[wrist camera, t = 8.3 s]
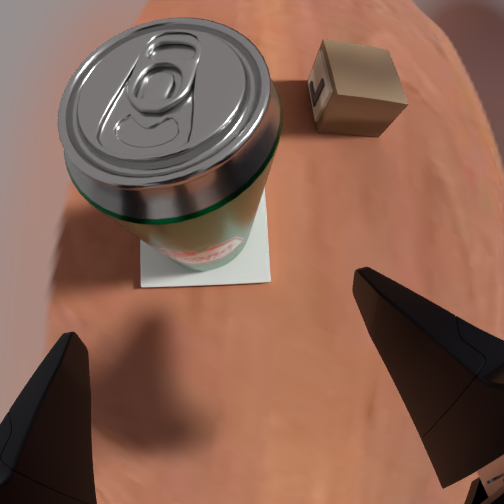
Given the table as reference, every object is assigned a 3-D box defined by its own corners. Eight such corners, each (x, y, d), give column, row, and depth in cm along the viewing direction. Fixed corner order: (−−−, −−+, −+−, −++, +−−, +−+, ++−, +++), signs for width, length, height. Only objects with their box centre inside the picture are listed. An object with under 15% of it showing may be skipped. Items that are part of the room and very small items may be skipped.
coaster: (269, 282, 17) (270, 281, 17) (143, 287, 17) (141, 287, 16) (261, 163, 18) (262, 159, 18) (145, 169, 18) (142, 165, 17)
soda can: (150, 264, 16) (10, 197, 5) (167, 176, 17) (94, 13, 5) (243, 277, 17) (278, 228, 5) (255, 187, 17) (297, 18, 6)
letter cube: (378, 137, 19) (408, 104, 15) (311, 133, 19) (331, 93, 15) (364, 87, 20) (388, 50, 16) (302, 80, 20) (317, 38, 15)
